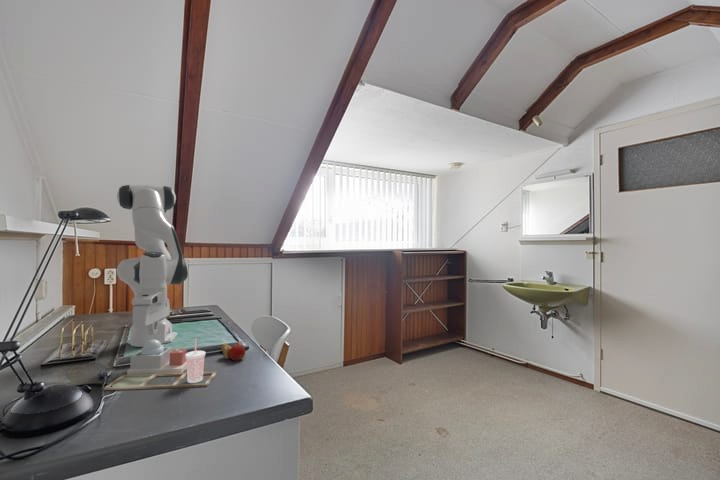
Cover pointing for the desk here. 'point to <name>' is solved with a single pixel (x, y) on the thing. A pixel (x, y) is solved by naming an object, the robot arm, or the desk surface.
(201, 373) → the beverage cup
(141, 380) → the wooden window frame
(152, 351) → the dome
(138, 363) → the dome housing
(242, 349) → the kendama
